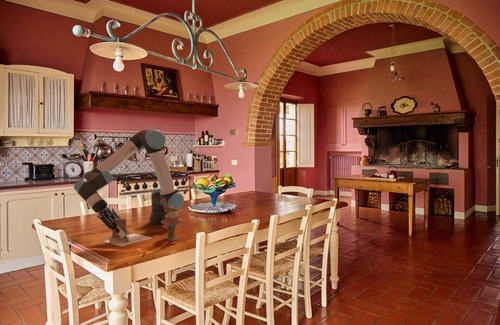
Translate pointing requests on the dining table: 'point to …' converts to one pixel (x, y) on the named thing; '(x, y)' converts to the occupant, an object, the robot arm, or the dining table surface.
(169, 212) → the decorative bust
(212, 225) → the dining table surface
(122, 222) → the block
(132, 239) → the marked board
